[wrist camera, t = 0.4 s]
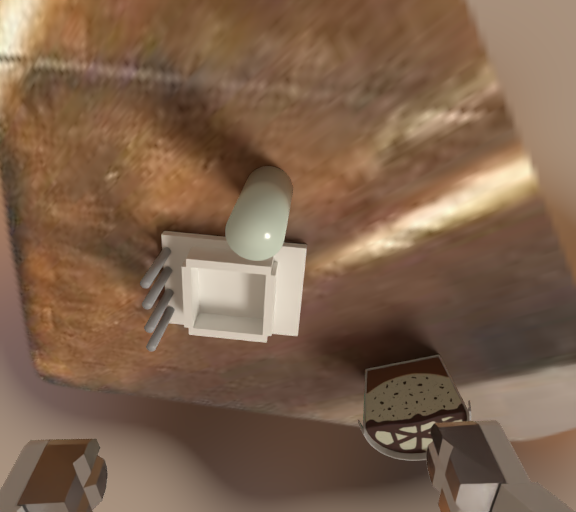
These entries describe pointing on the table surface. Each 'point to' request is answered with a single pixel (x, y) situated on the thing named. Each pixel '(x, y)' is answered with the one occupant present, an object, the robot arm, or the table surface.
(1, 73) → the table surface
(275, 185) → the pale green canister
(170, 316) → the dish rack
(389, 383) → the food container
